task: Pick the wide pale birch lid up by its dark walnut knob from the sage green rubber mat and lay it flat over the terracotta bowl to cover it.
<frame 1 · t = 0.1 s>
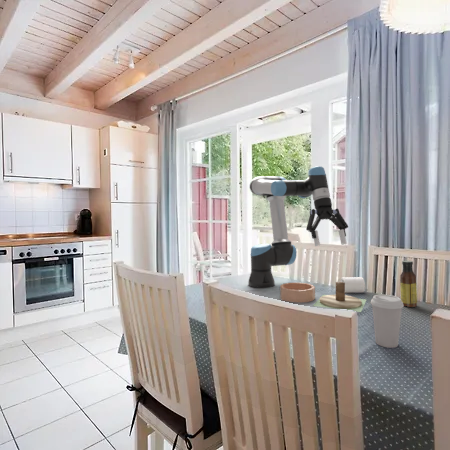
hand: (331, 245, 140), 28 cm above the table, tool tilted 20°, fingers open, 13 cm apart
mat: (340, 303, 145), on the table
bowl: (297, 298, 155), on the table
sauce bottle: (408, 306, 140), on the table
mug: (351, 292, 166), on the table
coffee cup: (386, 344, 103), on the table
lid: (340, 302, 145), point 1 cm above the table, touching mat
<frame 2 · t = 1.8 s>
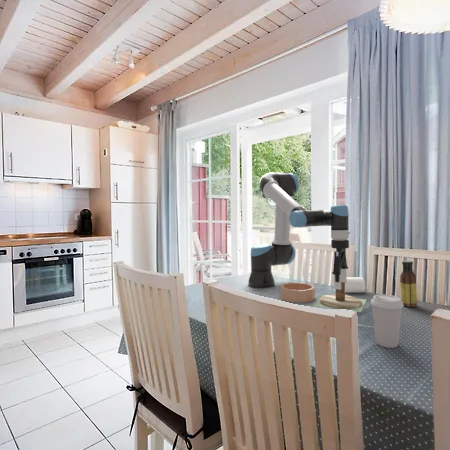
hand: (340, 285, 145), 8 cm above the table, tool pointing down, fingers open, 13 cm apart
nothing on the table moved.
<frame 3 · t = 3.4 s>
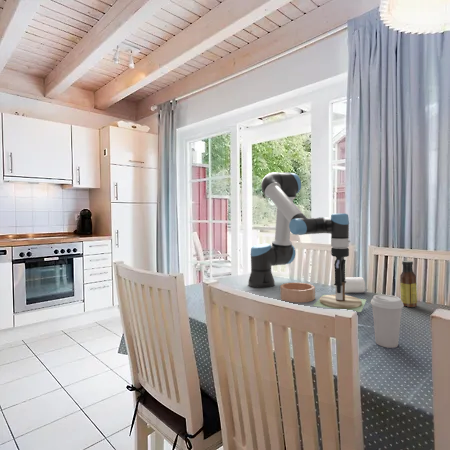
hand: (340, 298, 145), 3 cm above the table, tool pointing down, fingers closed on lid, 4 cm apart
lid: (340, 302, 145), point 1 cm above the table, touching gripper, mat
everything else where it was.
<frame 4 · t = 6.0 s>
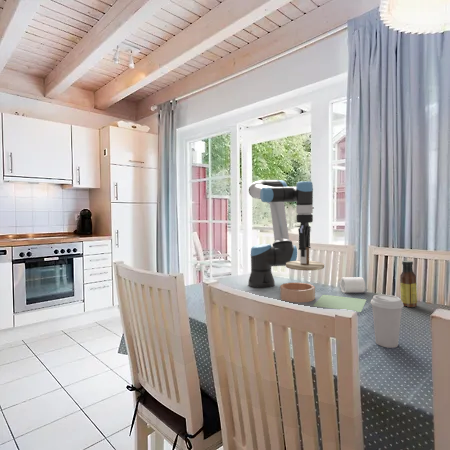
hand: (304, 262, 153), 18 cm above the table, tool pointing down, fingers closed on lid, 4 cm apart
lid: (304, 266, 153), point 16 cm above the table, touching gripper
everything else where it was.
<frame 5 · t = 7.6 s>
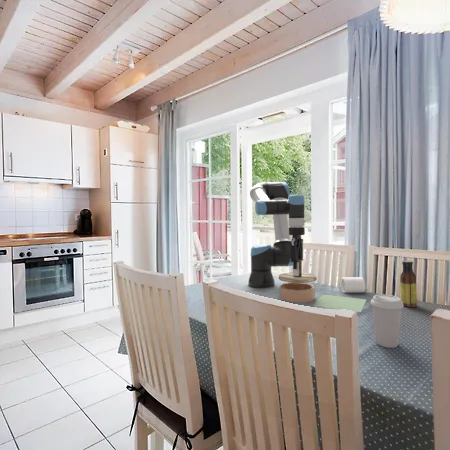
hand: (297, 274, 155), 12 cm above the table, tool pointing down, fingers closed on lid, 4 cm apart
lid: (297, 278, 155), point 10 cm above the table, touching gripper
everything else where it was.
when the fingers open (9 cm above the table, at t = 8.8 s): lid stays where it is, resting on bowl.
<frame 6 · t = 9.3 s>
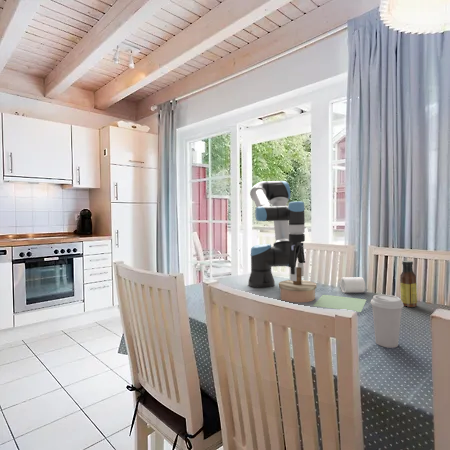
hand: (297, 278, 155), 10 cm above the table, tool pointing down, fingers open, 11 cm apart
lid: (297, 286, 155), point 6 cm above the table, touching bowl
everything else where it was.
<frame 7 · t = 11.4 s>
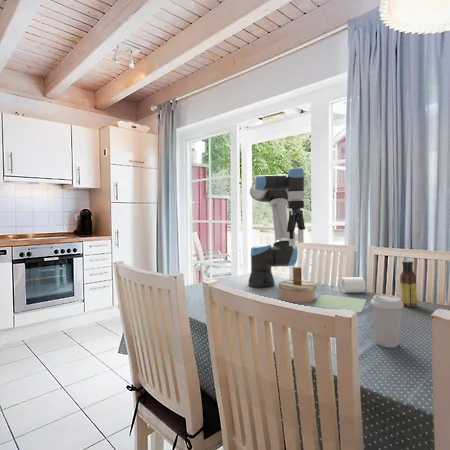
hand: (296, 244, 154), 27 cm above the table, tool pointing down, fingers open, 13 cm apart
nothing on the table moved.
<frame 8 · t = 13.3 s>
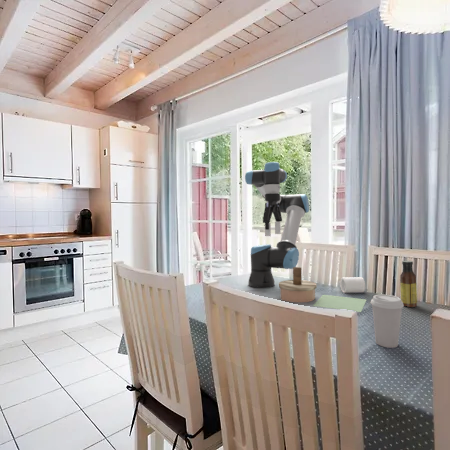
hand: (273, 235, 162), 31 cm above the table, tool pointing down, fingers open, 13 cm apart
nothing on the table moved.
at the end: lid 0.0 cm from the bowl (horizontally); lid point 6.0 cm above the table; lid tilted 0° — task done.
